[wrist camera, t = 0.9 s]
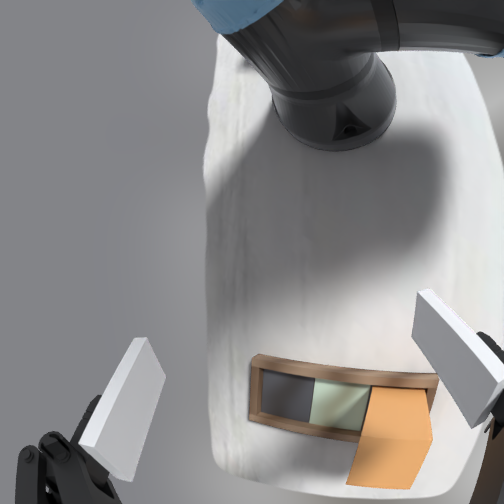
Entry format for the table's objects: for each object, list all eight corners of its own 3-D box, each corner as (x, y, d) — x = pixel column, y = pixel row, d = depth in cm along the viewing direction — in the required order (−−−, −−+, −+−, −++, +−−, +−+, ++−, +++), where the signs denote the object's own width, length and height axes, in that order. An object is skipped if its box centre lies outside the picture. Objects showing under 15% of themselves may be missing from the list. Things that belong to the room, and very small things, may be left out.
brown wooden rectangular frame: (436, 373, 23) (439, 379, 21) (417, 438, 22) (417, 446, 21) (258, 353, 33) (251, 358, 31) (255, 413, 33) (249, 419, 31)
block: (424, 388, 22) (432, 439, 14) (411, 432, 22) (409, 489, 13) (372, 385, 25) (360, 435, 16) (363, 429, 25) (345, 484, 16)
